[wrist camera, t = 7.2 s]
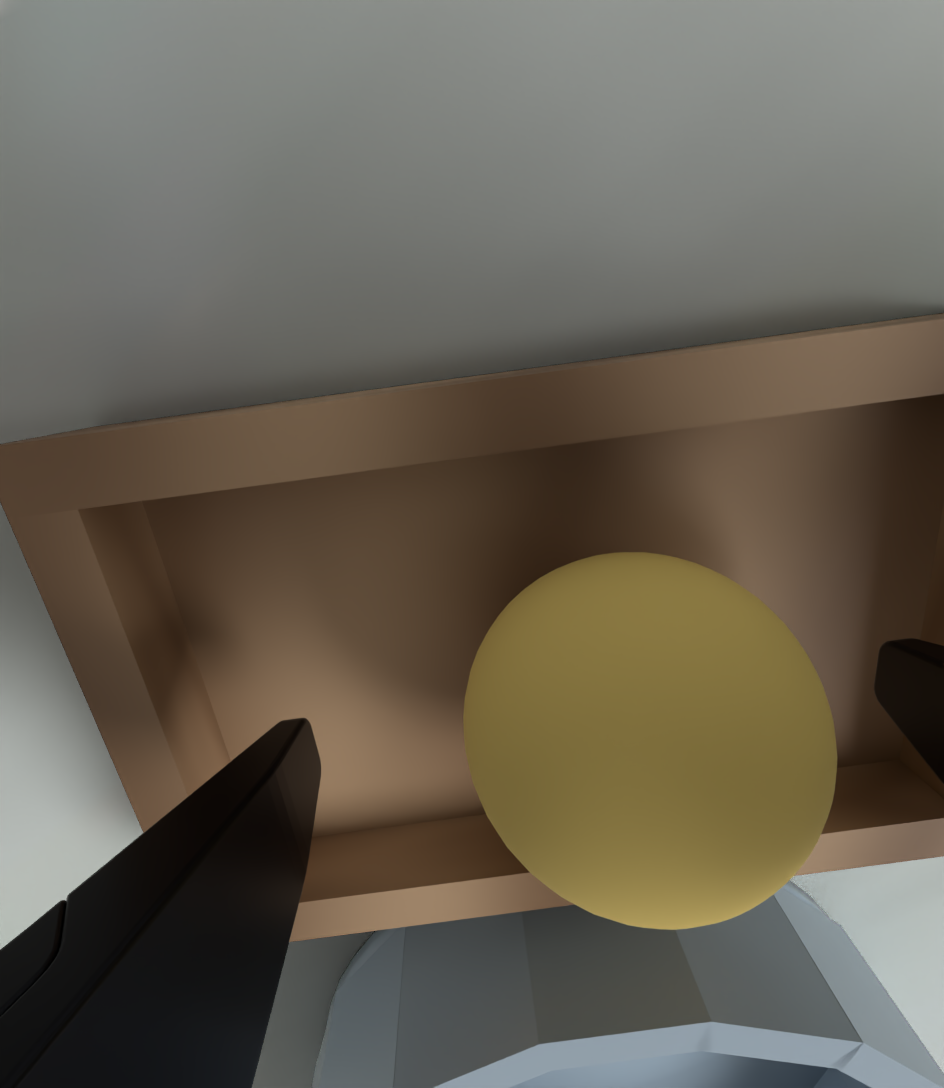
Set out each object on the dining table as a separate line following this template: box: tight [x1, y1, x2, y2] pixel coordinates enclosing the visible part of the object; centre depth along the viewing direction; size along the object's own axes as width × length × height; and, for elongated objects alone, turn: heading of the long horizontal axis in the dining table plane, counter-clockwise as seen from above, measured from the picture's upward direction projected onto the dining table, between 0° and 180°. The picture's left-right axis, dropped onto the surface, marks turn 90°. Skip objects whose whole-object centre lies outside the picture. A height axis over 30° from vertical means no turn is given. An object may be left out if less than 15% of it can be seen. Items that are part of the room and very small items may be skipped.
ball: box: [463, 552, 837, 930], centre depth 8 cm, size 5×5×5 cm
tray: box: [0, 313, 944, 942], centre depth 10 cm, size 16×10×2 cm, turn 97°
